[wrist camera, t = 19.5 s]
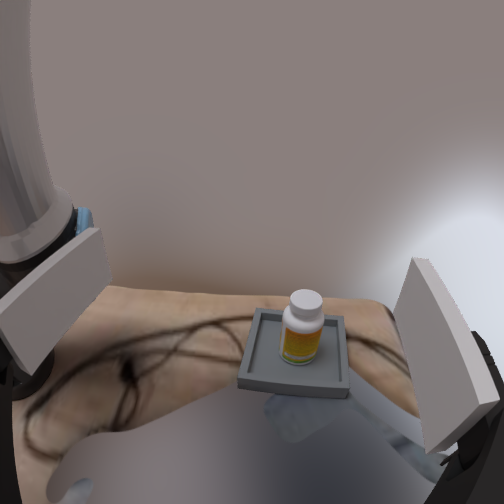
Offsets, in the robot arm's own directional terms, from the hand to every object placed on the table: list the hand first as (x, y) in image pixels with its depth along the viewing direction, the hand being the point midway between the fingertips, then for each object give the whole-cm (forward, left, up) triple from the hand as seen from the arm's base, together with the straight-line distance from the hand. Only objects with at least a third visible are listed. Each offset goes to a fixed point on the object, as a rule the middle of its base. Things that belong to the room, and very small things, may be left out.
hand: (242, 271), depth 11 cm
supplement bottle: (+4, +18, -25) cm, 31 cm away
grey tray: (+4, +18, -26) cm, 32 cm away
